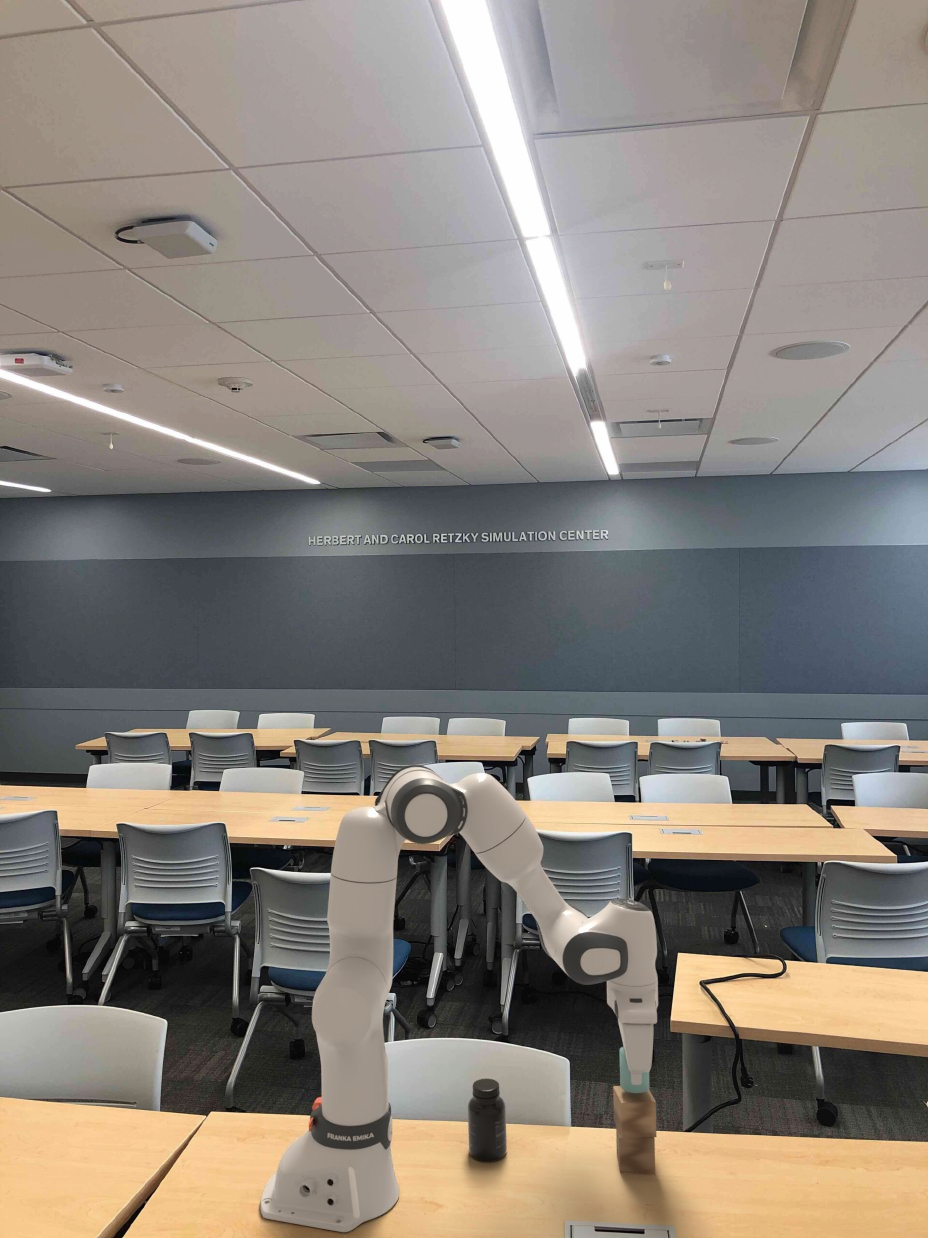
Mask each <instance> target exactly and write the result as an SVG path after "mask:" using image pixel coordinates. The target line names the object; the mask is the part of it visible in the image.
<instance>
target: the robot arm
mask: <svg viewBox="0 0 928 1238" xmlns="http://www.w3.org/2000/svg"><path fill="white" fill-rule="evenodd" d="M458 833H459V834H460V835H461V836H462V838H463V839H464V840H465V842H466V843H467V844H468V845H469V847H470V849H471V850H472V851H473V852H474V853H473V854H475V856H476V857H477V859H478V861H480V862H481V863H482V865H483V866H484V867H485V868H486V869H487V870H488V871H489V872H490V873H491V874H492V875H493V876H494V877H495V878H496V879H498V881H500V882H502V883H506V884H508V885H509V886H510V887H512V889H513V890H514V891H515V892H516V894H517V895H518V896H519V898H520V899H521V901H522V902H523V904H524V905H525V907H526V908H527V910H528V911H529V913H530V914H531V915H532V917H533V919H534V921H535V924H536V927H537V931H538V938H539V941H540V945H541V947H542V949H543V950H544V952H545V953H546V955H547V956H548V957H549V958H551V959H552V960H553V961H555V963H556V964H557V965H558V966H559V967H560V968H561V970H562V971H563V972H564V973H565V974H566V975H567V976H568V977H569V978H570V979H571V980H572V981H574V982H576V983H577V984H581V985H587V986H588V985H595V984H596V985H597V984H599V983H600V984H601V983H604V982H606V1003H607V1005H608V1006H609V1007H610V1008H611V1009H612V1010H613V1012H614V1014H615V1016H616V1019H617V1023H618V1026H619V1031H620V1036H621V1040H622V1045H623V1046H624V1050H625V1055H626V1059H627V1064H628V1069H629V1071H630V1079H631V1083H632V1084H633V1085H640V1084H641V1083H642V1072H649V1073H650V1071H651V1068H652V1063H653V1062H652V1061H653V1049H654V1048H653V1046H654V1045H653V1044H654V1024H657V1022H658V1012H657V1010H658V1007H659V990H658V989H659V987H658V986H659V980H658V973H657V970H656V960H657V956H658V946H657V943H658V942H657V932H656V929H657V928H656V924H655V918H654V915H653V912H652V911H651V909H650V908H648V906H646V905H645V904H643V903H641V902H639V901H636V900H633V899H627V898H614V899H611V900H609V903H607V905H606V906H605V907H604V908H603V909H601V910H600V911H599V912H598V913H595V914H594V915H592V916H591V917H588V916H587V915H586V913H584V912H583V911H582V910H581V909H579V908H578V907H576V906H574V905H572V904H570V903H568V902H567V901H565V899H564V898H563V897H562V896H561V894H560V893H559V890H558V889H557V888H556V886H555V885H554V884H553V882H552V881H551V879H550V878H549V876H548V875H547V874H546V872H545V870H544V869H543V867H542V864H541V862H542V860H543V856H544V845H543V842H542V840H541V838H540V836H539V833H538V831H537V829H536V828H535V826H534V823H532V821H531V819H530V818H529V815H527V814H526V812H525V811H524V809H523V808H522V807H521V805H520V803H519V802H517V800H516V799H515V798H514V796H512V794H511V793H510V792H509V791H508V790H507V789H506V788H505V787H504V786H503V785H502V784H501V783H500V782H499V781H498V780H497V779H496V778H495V777H494V776H492V775H491V774H489V773H486V772H476V773H475V772H474V773H472V774H469V775H466V776H464V777H463V778H461V780H459V781H458V782H454V783H450V782H446V781H445V780H444V779H443V778H442V777H441V775H439V774H438V773H436V772H435V771H434V770H432V769H431V768H429V767H427V766H424V765H419V764H409V765H406V766H404V767H402V768H399V769H398V770H396V771H395V772H394V773H393V774H392V775H391V777H389V779H388V780H387V782H386V783H385V785H384V786H383V788H382V789H381V790H380V793H379V794H378V795H377V797H376V798H375V800H374V806H367V805H366V806H360V807H359V806H358V807H356V808H354V809H351V810H350V811H347V812H346V813H345V814H344V816H343V817H342V818H341V820H340V824H339V826H338V830H337V835H336V839H335V843H334V847H333V848H334V849H333V853H332V861H331V867H330V868H331V869H330V881H329V891H328V892H329V894H328V903H327V913H326V914H327V916H326V922H327V924H328V929H329V930H328V934H329V961H328V965H327V970H326V972H325V975H324V977H323V978H322V979H321V981H320V983H319V985H318V987H317V988H316V990H315V992H314V993H315V994H314V995H313V1000H312V1008H311V1009H312V1010H311V1023H312V1026H313V1030H314V1032H315V1034H316V1040H317V1046H318V1053H319V1057H320V1065H321V1066H320V1067H321V1068H320V1070H321V1096H319V1097H317V1098H316V1099H315V1100H314V1102H313V1104H312V1107H311V1108H312V1111H311V1113H310V1115H309V1121H308V1130H307V1131H305V1132H304V1133H303V1134H302V1135H300V1136H299V1137H298V1138H296V1139H295V1140H293V1141H292V1142H291V1143H290V1144H289V1145H288V1147H287V1148H286V1149H285V1151H284V1153H283V1155H281V1158H280V1160H279V1163H278V1167H277V1170H276V1171H275V1172H274V1173H273V1175H272V1176H271V1177H270V1178H269V1179H268V1181H267V1183H266V1184H265V1186H264V1189H263V1191H262V1195H261V1197H260V1204H259V1205H260V1206H259V1207H260V1213H261V1216H262V1217H263V1218H264V1219H268V1220H272V1221H276V1222H277V1221H278V1222H283V1223H289V1224H295V1225H300V1226H305V1227H312V1228H316V1229H317V1228H318V1229H322V1230H327V1231H329V1230H330V1231H335V1232H341V1233H348V1232H352V1230H354V1229H356V1228H357V1227H359V1226H360V1225H361V1224H362V1223H365V1222H367V1221H370V1220H373V1219H375V1218H377V1217H380V1216H381V1215H384V1214H385V1213H387V1212H389V1210H390V1209H392V1208H393V1207H394V1206H395V1204H396V1202H397V1201H398V1199H399V1196H400V1186H399V1184H398V1179H397V1175H396V1172H395V1169H394V1168H395V1167H394V1163H393V1162H394V1161H393V1155H392V1147H391V1144H392V1139H393V1115H392V1105H391V1103H390V1100H389V1097H390V1095H389V1057H388V1054H387V1050H386V1044H385V1035H384V1034H385V1033H384V1023H383V1022H384V1021H383V1020H384V1009H385V1004H386V1001H387V999H388V996H389V993H390V990H391V987H392V984H393V975H394V974H393V973H394V972H393V971H394V969H393V968H394V917H395V904H396V894H397V893H396V891H397V882H398V881H397V879H398V877H397V876H398V865H399V863H398V861H399V855H400V852H401V849H402V846H403V845H404V843H405V842H406V841H409V843H410V842H411V843H413V844H417V845H427V844H428V845H429V844H433V843H436V842H438V841H441V840H442V839H445V838H447V837H450V836H453V835H456V834H458ZM623 1046H622V1047H623Z"/></svg>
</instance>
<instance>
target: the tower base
mask: <svg viewBox="0 0 928 1238" xmlns="http://www.w3.org/2000/svg"><path fill="white" fill-rule="evenodd" d="M615 1135H616V1136H615V1138H616V1139H615V1140H616V1143H615V1145H616V1157H617V1165H618V1169H619V1174H627V1175H628V1174H630V1175H631V1174H632V1175H634V1174H635V1175H656V1154H655V1153H656V1152H655V1151H656V1147H655V1146H656V1144H655V1138H656V1137H652V1138H632V1139H622V1138H621V1135H620V1133H619V1131H618V1129H617V1126H616V1125H615Z"/></svg>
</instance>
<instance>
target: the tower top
mask: <svg viewBox="0 0 928 1238" xmlns="http://www.w3.org/2000/svg"><path fill="white" fill-rule="evenodd" d="M612 1089H613V1091H612V1092H613V1093H612V1094H613V1095H612V1096H613V1122H614V1125H615V1127H616V1126H617V1129H618V1131H619V1133H620V1135H621V1138H622V1139H632V1138H652V1137H654V1138H657V1101H656V1099H655V1098H654V1096H653V1094H652V1092H651V1091H650V1089H649V1090H648V1091H646V1092H643V1093H630V1092H627V1091H625V1090H623V1089H622V1088H621V1086H620V1085H614V1086H613V1088H612Z"/></svg>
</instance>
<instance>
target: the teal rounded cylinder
mask: <svg viewBox="0 0 928 1238" xmlns="http://www.w3.org/2000/svg"><path fill="white" fill-rule="evenodd" d="M619 1082H620V1083H619V1084H620V1085H619V1086H621V1088H622V1089H623V1090H625V1091H627V1092H630V1093H643V1092H646V1091H648V1090H650V1071H649V1072H642V1083H641V1084H640V1085H633V1084H632V1083H631V1079H630V1071H629V1069H628V1064H627V1059H626V1055H625V1050H624V1046H621V1047H620V1048H619Z"/></svg>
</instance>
